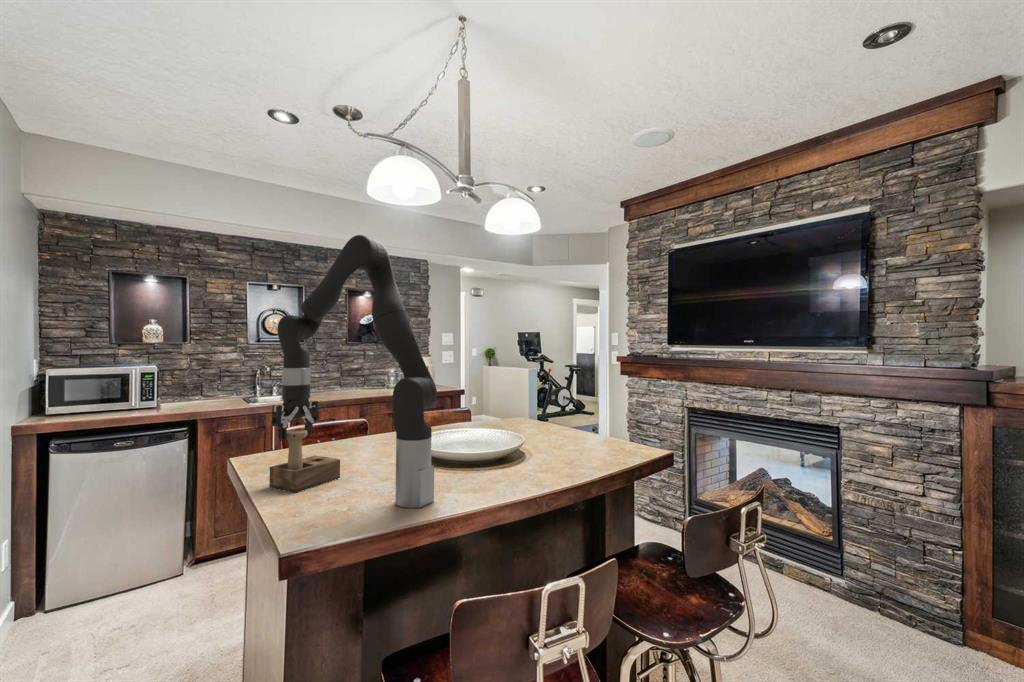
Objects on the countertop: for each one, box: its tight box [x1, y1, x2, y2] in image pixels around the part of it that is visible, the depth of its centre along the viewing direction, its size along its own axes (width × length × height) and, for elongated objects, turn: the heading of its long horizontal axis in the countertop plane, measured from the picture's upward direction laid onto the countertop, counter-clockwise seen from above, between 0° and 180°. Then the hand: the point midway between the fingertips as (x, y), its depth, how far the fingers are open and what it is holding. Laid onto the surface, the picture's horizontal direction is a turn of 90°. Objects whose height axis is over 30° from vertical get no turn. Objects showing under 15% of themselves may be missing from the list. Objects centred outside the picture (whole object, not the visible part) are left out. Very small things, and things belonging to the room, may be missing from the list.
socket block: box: [269, 455, 341, 494], centre depth 136 cm, size 11×16×6 cm
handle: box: [287, 429, 308, 470], centre depth 133 cm, size 5×6×15 cm
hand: (295, 438), depth 133 cm, fingers open, 8 cm apart
